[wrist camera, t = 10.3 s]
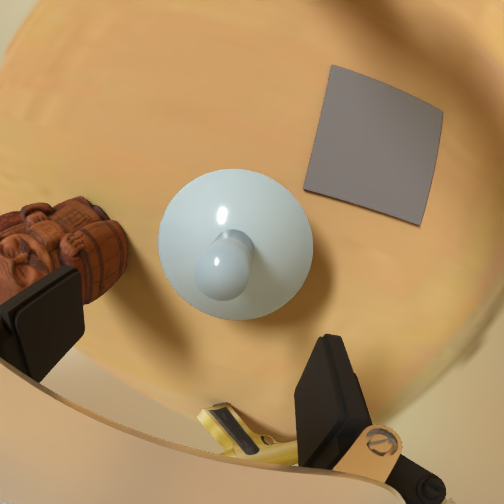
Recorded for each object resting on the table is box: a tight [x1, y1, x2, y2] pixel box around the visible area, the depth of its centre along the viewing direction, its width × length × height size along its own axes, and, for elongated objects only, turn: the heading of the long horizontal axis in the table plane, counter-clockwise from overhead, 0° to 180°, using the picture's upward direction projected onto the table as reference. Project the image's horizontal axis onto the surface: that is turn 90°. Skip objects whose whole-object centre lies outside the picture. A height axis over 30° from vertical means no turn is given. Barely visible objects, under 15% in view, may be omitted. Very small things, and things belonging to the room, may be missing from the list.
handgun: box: [197, 402, 298, 466], centre depth 35 cm, size 2×19×12 cm
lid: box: [158, 169, 313, 320], centre depth 21 cm, size 13×13×7 cm
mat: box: [303, 65, 443, 225], centre depth 25 cm, size 14×14×1 cm
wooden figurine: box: [0, 196, 128, 305], centre depth 22 cm, size 12×6×18 cm, turn 50°
